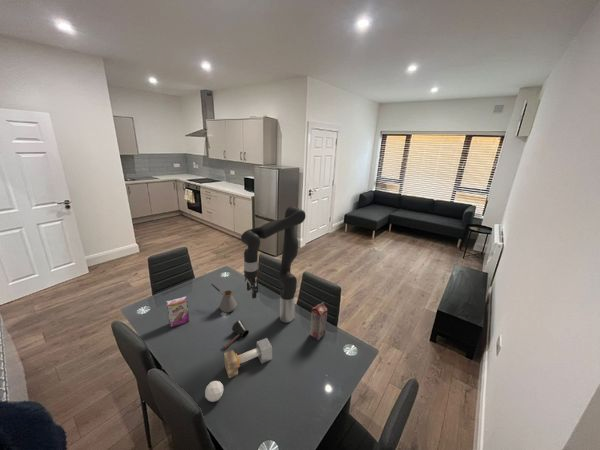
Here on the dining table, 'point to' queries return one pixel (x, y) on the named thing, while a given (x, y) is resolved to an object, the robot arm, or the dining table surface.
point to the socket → (231, 363)
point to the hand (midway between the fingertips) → (251, 293)
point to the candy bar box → (177, 311)
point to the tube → (247, 355)
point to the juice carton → (318, 321)
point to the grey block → (264, 350)
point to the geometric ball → (214, 391)
